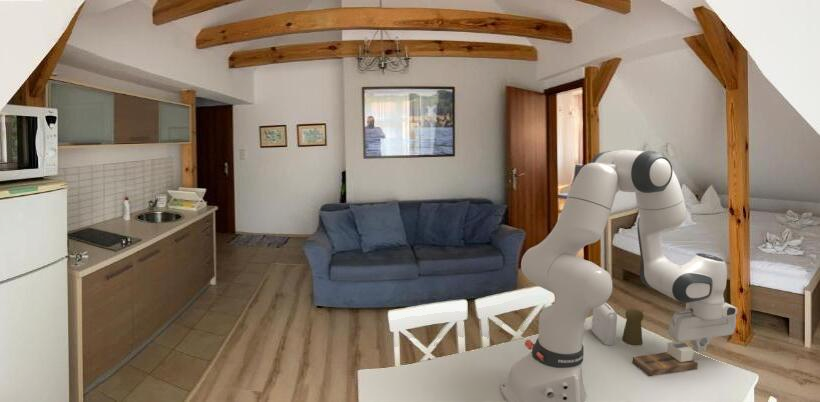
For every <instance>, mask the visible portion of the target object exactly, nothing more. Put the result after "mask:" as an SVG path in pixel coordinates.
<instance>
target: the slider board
mask: <svg viewBox="0 0 820 402" xmlns="http://www.w3.org/2000/svg"><path fill="white" fill-rule="evenodd" d="M632 364H633V365H634V366H635V367H637V368H638V369H639V370H641V371H642V372H643V373H644V374H646V375H647V376H649V377H656V376H661V375H663V376H664V375H667V374H674V373H681V372H688V371H694V370H695V371H696V370H698V365H699V363H698V362H697V361H695V360H694V359H692V360H691V361H685V362H680V361H678V360H677V359H675V358H674V357H672V356H671V355H669V354H668V353H667V351H666V352H658V353H651V354H650V353H649V354H644V355H636V356H632Z"/></svg>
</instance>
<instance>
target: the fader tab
mask: <svg viewBox="0 0 820 402" xmlns="http://www.w3.org/2000/svg"><path fill="white" fill-rule="evenodd" d="M666 352H667V353H668V354H669V355H671V356H672V357H674V358H675V359H677V360H678V361H680V362H685V361H691V360H693V357H694V349H693V347H690V346H689V345H688V344H686V343H684V342H683V341H682V342H678V341H676V340H674V341H668V342H667V349H666Z"/></svg>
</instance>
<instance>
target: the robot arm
mask: <svg viewBox="0 0 820 402" xmlns="http://www.w3.org/2000/svg"><path fill="white" fill-rule="evenodd" d="M618 192H625V193H635V199H636V203H637V207H638V213H639V217H638V219H637V224H636V225H637V226H636V228H637V231H636V232H637V238H638V239H637V240H638V246H639V254H640V262H639V263H640V264H639V270H638V271H639V278H640V281H641V283H643V285H645V286H646V287H648V288H651V289H653V290H656V291H658V292H660V293H662V294H664V295H666V296H667V297H669V298H672V299H674V300H675V301H678V302H680V303H683V304H684V303H685V309H679V310H676V312H675V313H673V314H672V317H671V320H670V322H669V323H670V324H669V327H668V336H669V337H670V338H671V339H673V340H674V341H678V342H682V343H683V342H688V341H691V342H692V349H693V351H696V352H704V351H706V350H707V346H708V345H709V343H710V342H711V340H712V338H716V337H724V336H731V335H733V334H734V333H735V330H736V325H737V316H736V315H737V314H738V307H736V306H734V305H732V304H729V303H728V302H726V301H725V298H724V293H725V290H726V287H727V279H728V267H727V263H726V261H725V260H724V259H722V258H721V257H718V256H716V255H712V254H708V253H700V252H699V253H697V252H696V253H695V254H694V255H693V257H692V259H690V260H689V261H688V262H685V263H684V264H682V265H681V264H680V265H679V264H676V263H675V262H672V261H670V259H668V258H667V257H666V256H665V254H664V248H663V241H662V240H663V239H662V234H664V233H668V232H671V231H673V230H675V229H678V228H679V227H680V226H682V224H683V223H684V221H685V220H686V218H687V209H686V208H687V207H686V201H685V197H684V193H683V191H682V188H681V184H680V182H679V180H678V176H677V175H676V173H675V171H674V169H673V165H672V163H671V161H670V160H669V158H668V157H667V155H665V154H664V153H661V152H659V151H658V152H657V151H654V150H645V151H644V150H632V149H619V150H614V151H613V150H607V151H606V150H605V151H603V152H602V151H601V152H599V153H597V154H596V155H594V156H593V158H591V159H590V161H589V163H586V164H584V165H583V166H581V168H580V169H579V172H578V173H577V175H576V176H575V178H574V180H573V182H572V184H571V186H570V188H569V191H568V193H567V196H566V199H565V201H564V205H563V207H562V209H561V212H560V214H559V216H558V219H557V221H556V223H555V226H554V227H553V228H552V229H551V231H550V233H548V235H547V236H546V237H545V238H544V239H543V240H542V241H541V242H539V243H538V244H536V245H534V246H532V247H530V248H529V249H527V250H526V251H525V253H524V254H523V256H522V257H521V263H520V268H521V273H522V274H523V275H524V276H525V278H526V279H528V281H530V282H532V283H533V284H534V285H536V286H537V287H539V288H542V289H544V290H546V291H548V292H551V294H553V296H554V302H553V304H552V305H547V306H546V307H544V309H542V311H540V313H539V316H538V335H537V336H538V337H537V338H536V341H535V342H534V343H533V342H532V341H531V340H530V339H526V340H525V341H524V346H525V347H526V348H527V350H530V351H531V352H528V354H526V355H525V356H524V357H522V358H521V359H520V360H519V361H517V362H516V363H514V364H513V365H512V366H511V368H510V370H509V374H508V376H507V377H505V378H502V379H501V380H500V384H499V389H500V393H501V394H502V396H503V398H504V399H505V401H506V402H585V401H586V399H587V393H586V391H585V385H584V379H583V367H582V366H583V362H584V354H585V352H584V350H585V348H584V345H583V340H584V338H583V337H584V329H585V323H586V319H587V317H588V315H589V314H590V313H591V311H593V309H594V308H596V307H599V306H601V305H603V304H604V303H607V301H608V300H609V298H611V295H612V293H613V280H612V277H611V275H610V273H609V272H608V270H605V269H604V268H602V267H601V266H599V265H597V264H596V263H594V262H593V261H589V260H586V259H583V258H581V257H579V256H577V255H578V253H579V252H580V251H581V250H582V249H583V248H585V246H587V245H591V244H592V245H593V244H594V243H597V242H598V241H599V240H600V239H601V237H602V236H603V234H604V231H605V228H606V225H607V222H608V219H609V218H610V214H611V211H612V208H613V205H614V202H615V200H616V199H615V198H616V195H617V193H618Z"/></svg>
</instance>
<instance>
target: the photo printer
mask: <svg viewBox="0 0 820 402" xmlns="http://www.w3.org/2000/svg"><path fill="white" fill-rule="evenodd" d="M591 320H592V321H591V322H592V323H591V331H592V333H593V334H594V336H595V337H596V338H597V339H598V340H600V341H601V342H602V343H603V344H604V345H605V346H615V344H616V339H617V324H618V323H617V321H618V316H617V313H616V311H615V310H614V308H613V307H612V306H611V305H610V304H608V303H607V302H605V303H604V304H603V305H601V306H599V307H596V308H594V309H592V319H591Z"/></svg>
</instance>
